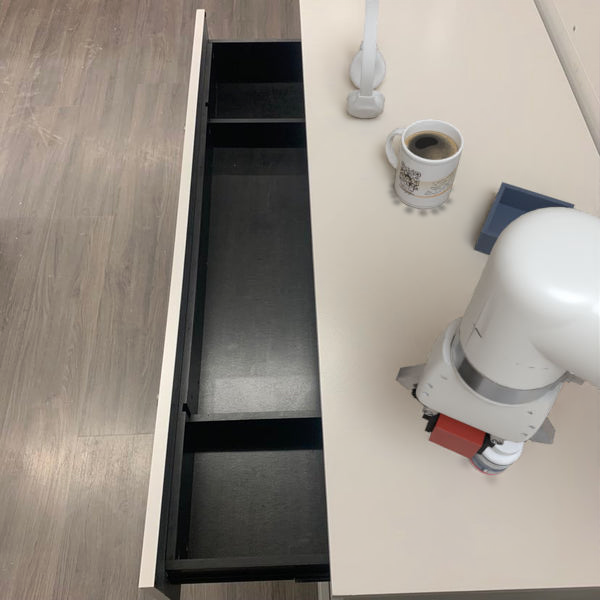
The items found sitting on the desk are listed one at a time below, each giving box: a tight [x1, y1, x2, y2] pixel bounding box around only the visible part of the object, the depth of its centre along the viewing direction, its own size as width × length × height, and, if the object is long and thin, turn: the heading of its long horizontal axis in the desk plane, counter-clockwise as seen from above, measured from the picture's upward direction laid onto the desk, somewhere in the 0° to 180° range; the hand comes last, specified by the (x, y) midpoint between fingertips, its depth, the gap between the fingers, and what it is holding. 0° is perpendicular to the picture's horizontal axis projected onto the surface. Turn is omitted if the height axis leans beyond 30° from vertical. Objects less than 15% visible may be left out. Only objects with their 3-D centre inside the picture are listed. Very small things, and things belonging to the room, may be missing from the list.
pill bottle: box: [468, 440, 525, 476], centre depth 65 cm, size 5×5×9 cm
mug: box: [384, 118, 465, 210], centre depth 89 cm, size 10×12×11 cm
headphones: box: [346, 0, 387, 119], centre depth 97 cm, size 7×18×20 cm, turn 174°
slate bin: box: [473, 181, 575, 256], centre depth 85 cm, size 12×12×5 cm
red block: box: [427, 413, 486, 460], centre depth 52 cm, size 4×4×4 cm
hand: (456, 429), depth 54 cm, fingers closed on red block, 4 cm apart
